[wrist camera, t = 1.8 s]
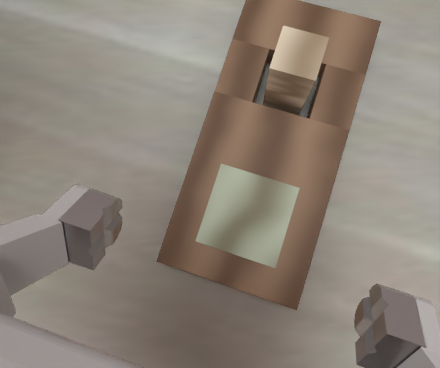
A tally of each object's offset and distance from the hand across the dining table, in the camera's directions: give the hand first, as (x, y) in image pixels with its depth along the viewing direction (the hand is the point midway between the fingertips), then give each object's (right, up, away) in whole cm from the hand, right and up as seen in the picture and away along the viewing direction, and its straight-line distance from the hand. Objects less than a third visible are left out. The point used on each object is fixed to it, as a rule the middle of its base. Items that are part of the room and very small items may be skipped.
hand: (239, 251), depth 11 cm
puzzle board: (+5, +6, +26) cm, 27 cm away
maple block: (+7, +12, +27) cm, 30 cm away
